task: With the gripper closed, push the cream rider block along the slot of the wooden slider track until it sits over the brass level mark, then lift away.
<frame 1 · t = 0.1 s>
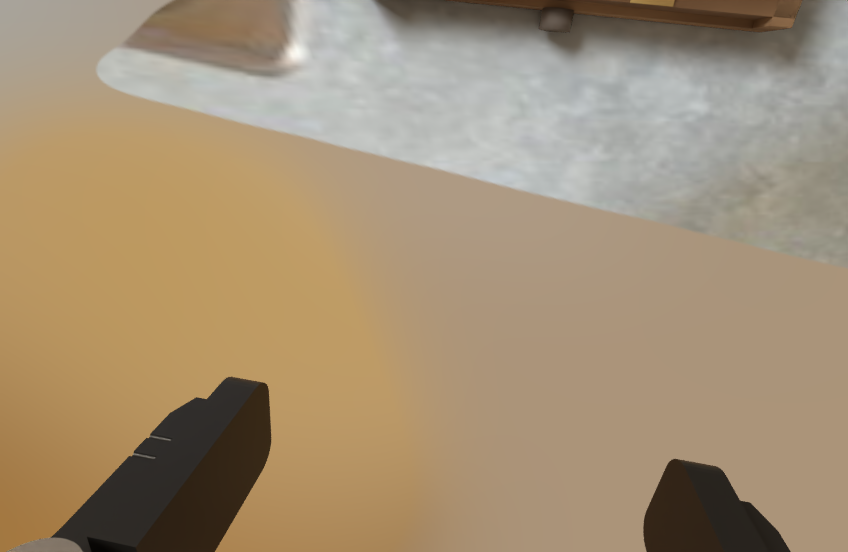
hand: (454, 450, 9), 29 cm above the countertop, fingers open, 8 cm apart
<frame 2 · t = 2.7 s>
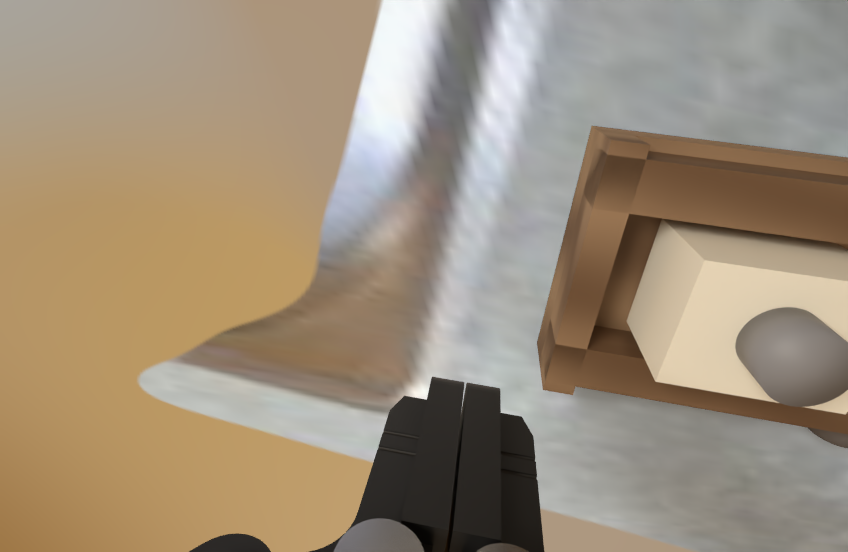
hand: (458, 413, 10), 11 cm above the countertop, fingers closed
rider: (759, 321, 15), point 4 cm above the countertop, slide at 0.0 cm
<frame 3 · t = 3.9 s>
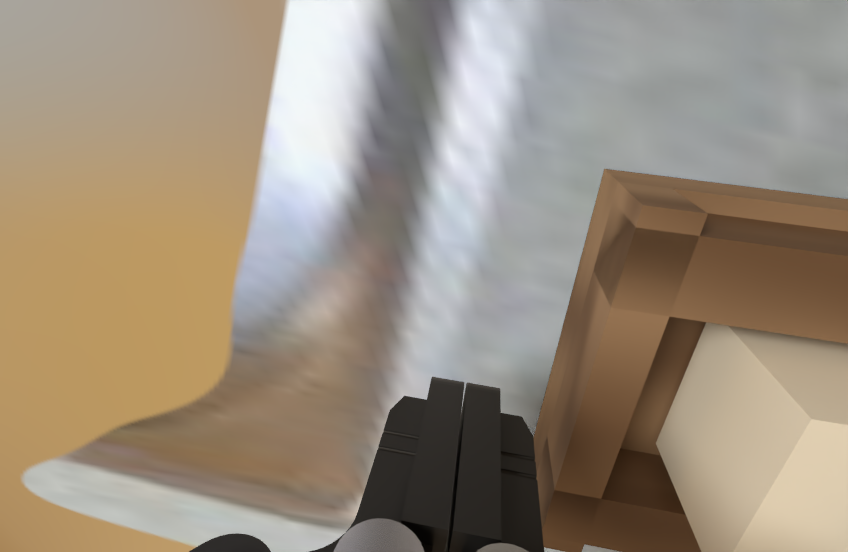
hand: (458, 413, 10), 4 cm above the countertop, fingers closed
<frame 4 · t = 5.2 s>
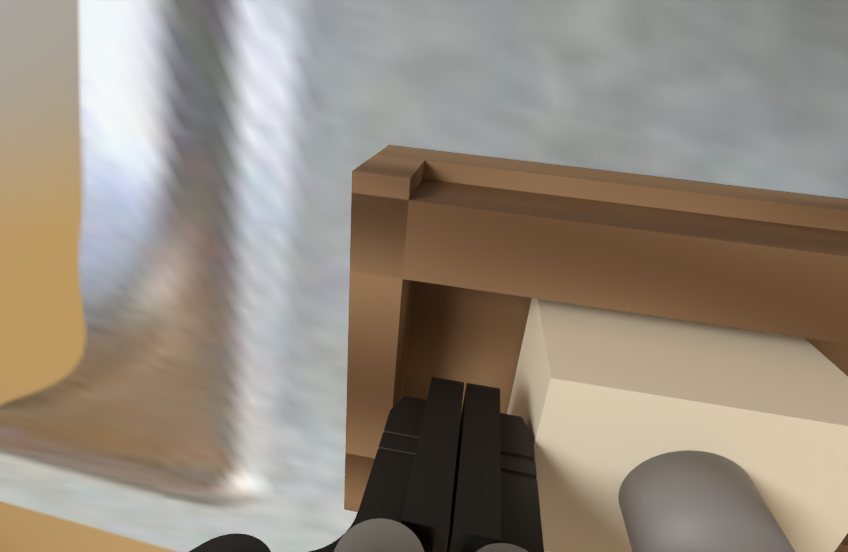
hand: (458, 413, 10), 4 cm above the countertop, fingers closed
rider: (664, 451, 10), point 4 cm above the countertop, slide at 1.4 cm, touching gripper
wooden slider track: (816, 372, 13), on the countertop
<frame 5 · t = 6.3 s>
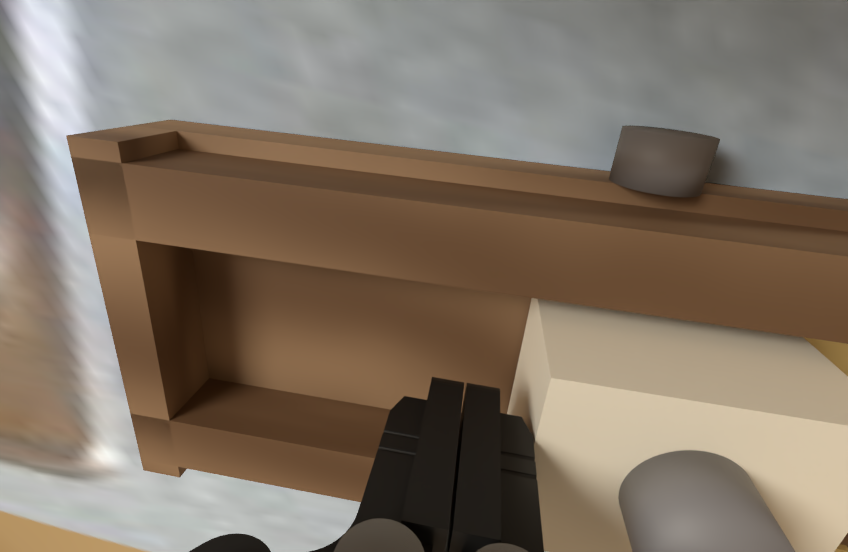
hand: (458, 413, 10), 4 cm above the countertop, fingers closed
rider: (664, 450, 10), point 4 cm above the countertop, slide at 7.7 cm, touching gripper
wooden slider track: (592, 338, 14), on the countertop
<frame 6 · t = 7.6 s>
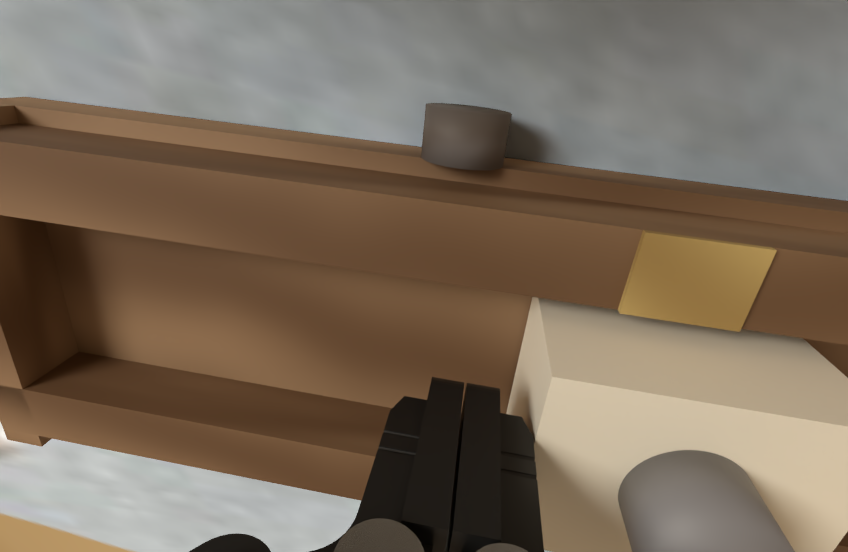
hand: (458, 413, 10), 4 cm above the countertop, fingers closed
rider: (663, 450, 10), point 4 cm above the countertop, slide at 12.3 cm, touching gripper
wooden slider track: (443, 314, 14), on the countertop
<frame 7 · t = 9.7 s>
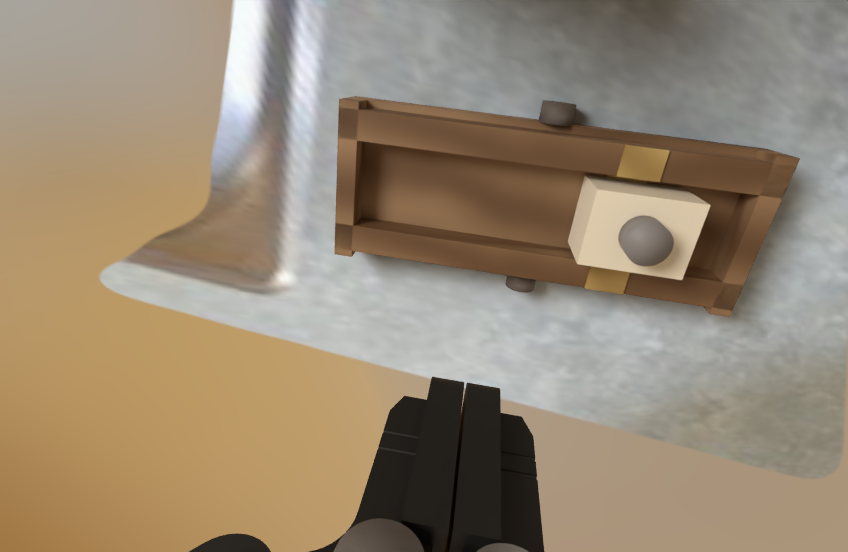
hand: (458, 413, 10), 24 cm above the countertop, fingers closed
rider: (635, 229, 27), point 4 cm above the countertop, slide at 12.4 cm
wooden slider track: (536, 197, 31), on the countertop
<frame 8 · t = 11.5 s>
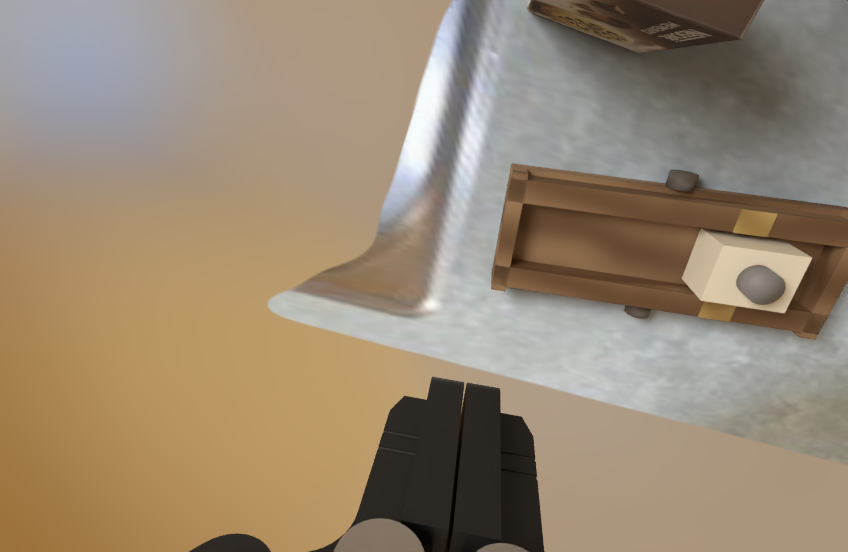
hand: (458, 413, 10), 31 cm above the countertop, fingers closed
rider: (746, 273, 35), point 4 cm above the countertop, slide at 12.4 cm
wooden slider track: (654, 242, 39), on the countertop
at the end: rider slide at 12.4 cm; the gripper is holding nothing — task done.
